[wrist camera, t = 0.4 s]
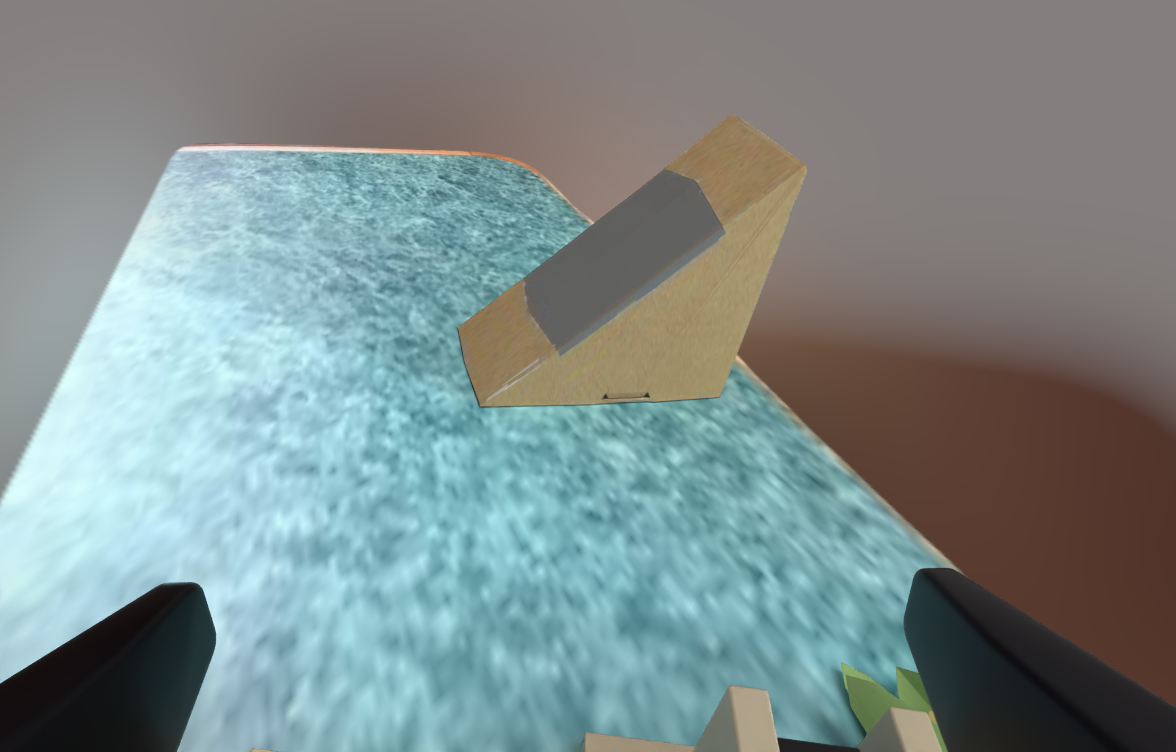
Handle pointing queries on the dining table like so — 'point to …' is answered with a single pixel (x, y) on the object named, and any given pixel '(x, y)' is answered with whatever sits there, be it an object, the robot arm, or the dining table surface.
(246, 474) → the dining table surface
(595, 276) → the sandwich container
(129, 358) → the dining table surface
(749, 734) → the lever stand
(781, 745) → the black lever handle
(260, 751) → the control block
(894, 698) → the edible corn
